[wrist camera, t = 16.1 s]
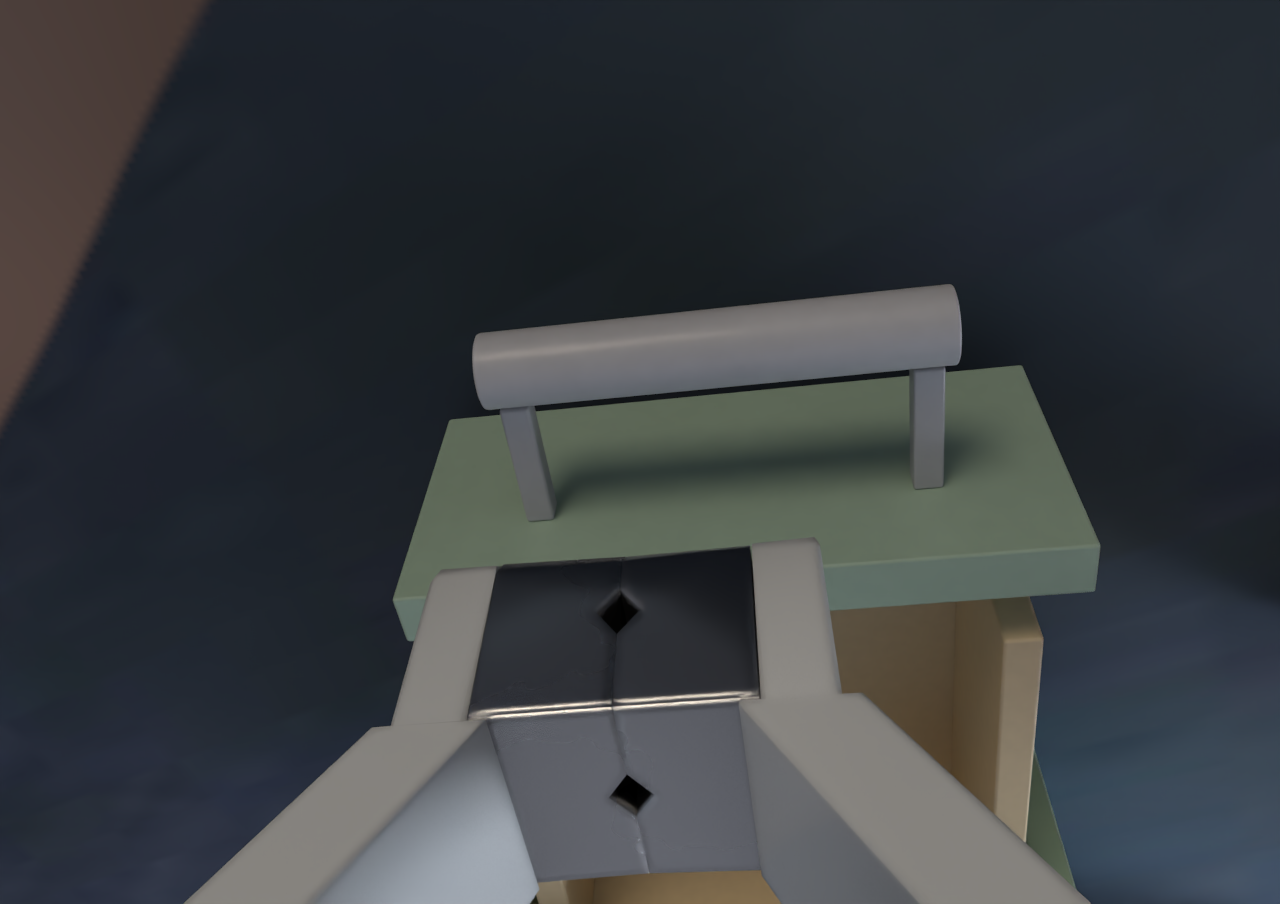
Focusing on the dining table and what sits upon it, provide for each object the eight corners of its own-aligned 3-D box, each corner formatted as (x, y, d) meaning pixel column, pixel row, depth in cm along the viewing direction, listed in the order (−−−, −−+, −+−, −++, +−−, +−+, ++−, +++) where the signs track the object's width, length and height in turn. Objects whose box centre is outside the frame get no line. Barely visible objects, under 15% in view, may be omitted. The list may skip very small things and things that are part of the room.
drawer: (401, 257, 25) (325, 419, 20) (1033, 185, 24) (1126, 341, 18) (557, 796, 36) (534, 992, 31) (997, 772, 35) (1049, 974, 29)
